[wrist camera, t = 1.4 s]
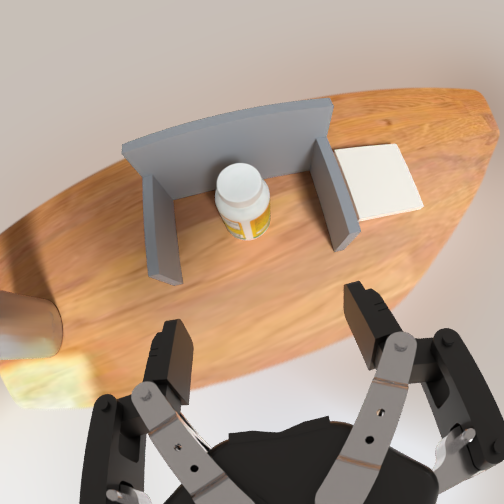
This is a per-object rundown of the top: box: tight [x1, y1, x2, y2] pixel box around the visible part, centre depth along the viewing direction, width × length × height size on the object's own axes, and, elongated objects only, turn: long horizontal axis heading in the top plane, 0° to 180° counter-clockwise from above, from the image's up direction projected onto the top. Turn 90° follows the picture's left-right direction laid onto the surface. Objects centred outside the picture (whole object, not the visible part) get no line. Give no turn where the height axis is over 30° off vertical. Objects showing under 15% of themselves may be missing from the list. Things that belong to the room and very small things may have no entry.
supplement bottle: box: [215, 163, 270, 240], centre depth 28 cm, size 5×5×10 cm
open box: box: [122, 98, 361, 285], centre depth 27 cm, size 20×12×12 cm, turn 101°
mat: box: [333, 144, 424, 222], centre depth 32 cm, size 10×10×1 cm
